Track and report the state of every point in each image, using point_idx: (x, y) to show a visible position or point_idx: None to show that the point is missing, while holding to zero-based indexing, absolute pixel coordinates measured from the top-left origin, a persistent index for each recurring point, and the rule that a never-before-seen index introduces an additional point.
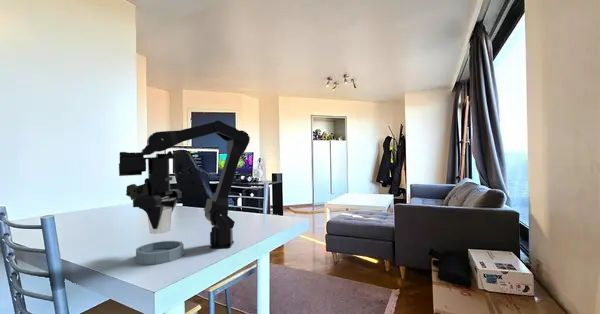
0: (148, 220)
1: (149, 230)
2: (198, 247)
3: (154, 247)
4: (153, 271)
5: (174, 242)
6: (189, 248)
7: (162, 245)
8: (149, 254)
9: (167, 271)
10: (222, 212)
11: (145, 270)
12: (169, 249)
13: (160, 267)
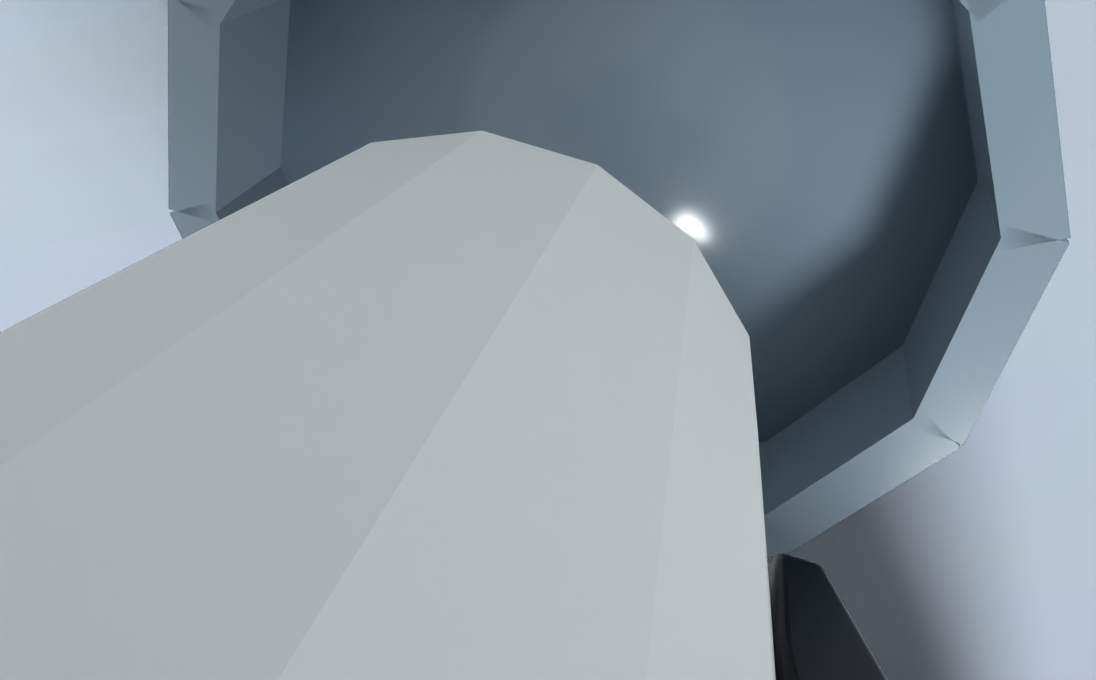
0: (83, 293)
1: (334, 162)
2: (913, 653)
3: (955, 15)
4: (11, 170)
5: (873, 434)
6: (922, 547)
7: (984, 182)
8: (178, 102)
9: (15, 323)
10: None
11: (41, 58)
12: (843, 293)
13: (137, 231)
